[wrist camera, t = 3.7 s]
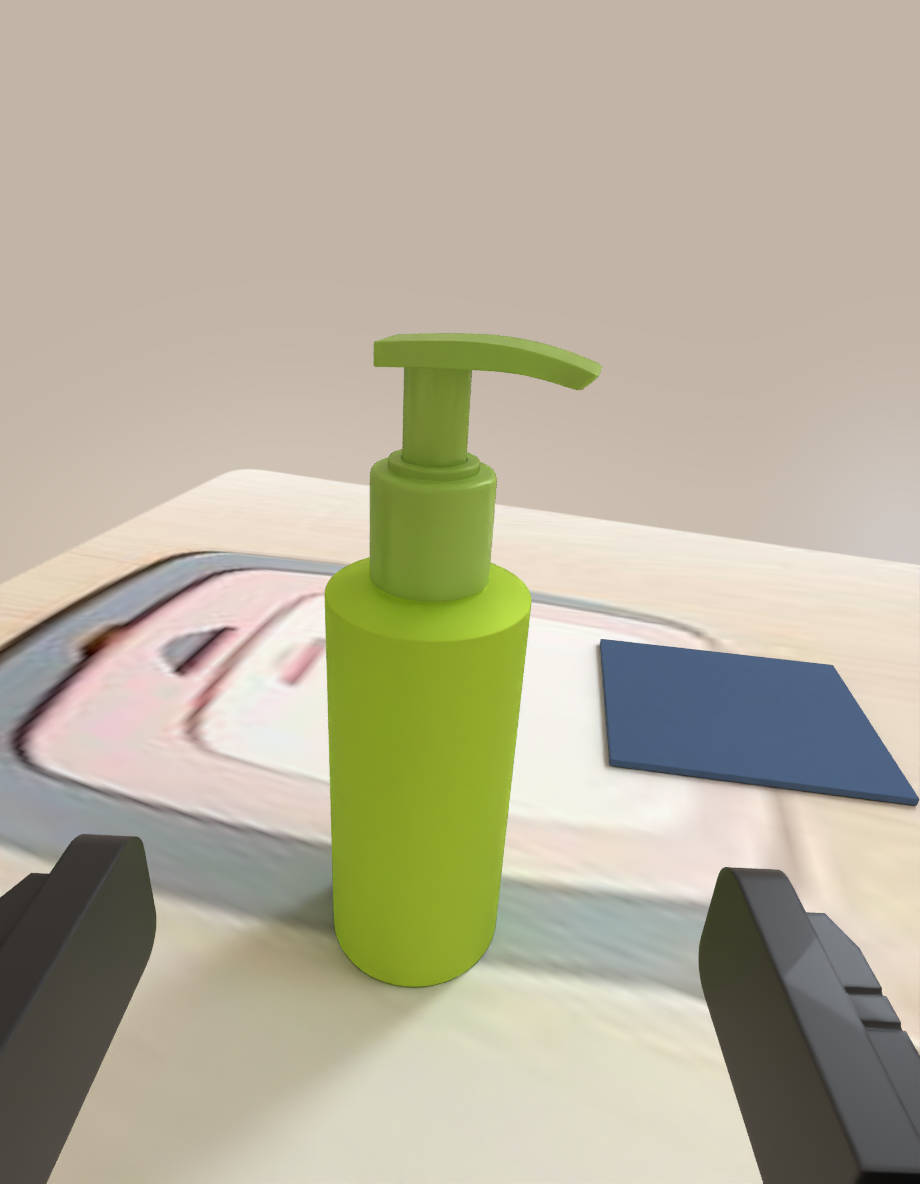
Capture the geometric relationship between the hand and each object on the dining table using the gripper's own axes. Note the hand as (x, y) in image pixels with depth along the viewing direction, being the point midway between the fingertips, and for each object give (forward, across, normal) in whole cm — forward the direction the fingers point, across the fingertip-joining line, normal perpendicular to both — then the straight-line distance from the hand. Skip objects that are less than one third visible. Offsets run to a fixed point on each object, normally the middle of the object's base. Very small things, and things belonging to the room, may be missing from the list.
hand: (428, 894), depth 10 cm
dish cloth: (+25, -16, +14) cm, 33 cm away
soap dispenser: (+11, 0, +14) cm, 18 cm away
